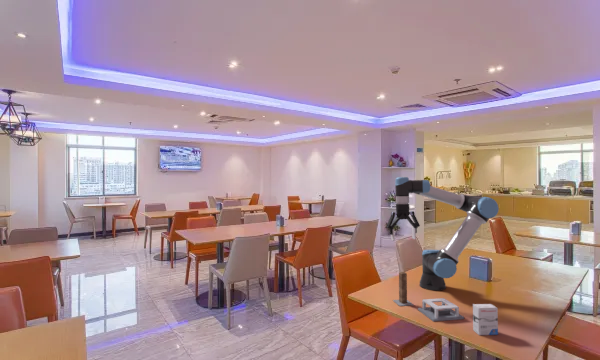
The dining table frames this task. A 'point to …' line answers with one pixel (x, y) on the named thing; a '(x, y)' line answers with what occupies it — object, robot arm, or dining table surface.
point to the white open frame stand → (440, 310)
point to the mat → (403, 303)
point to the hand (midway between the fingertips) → (403, 239)
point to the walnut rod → (402, 287)
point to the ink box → (485, 319)
